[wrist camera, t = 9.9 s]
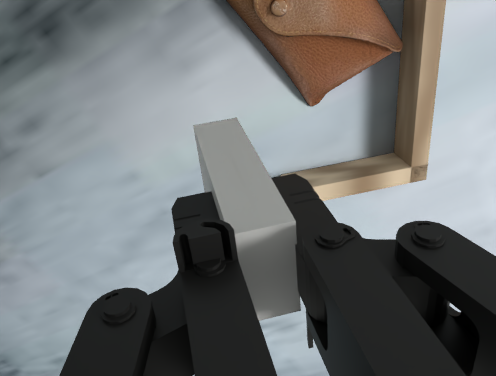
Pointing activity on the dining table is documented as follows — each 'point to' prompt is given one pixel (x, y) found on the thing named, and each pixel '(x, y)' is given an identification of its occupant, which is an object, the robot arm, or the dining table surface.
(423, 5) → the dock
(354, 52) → the sunglasses case
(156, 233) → the dining table surface
